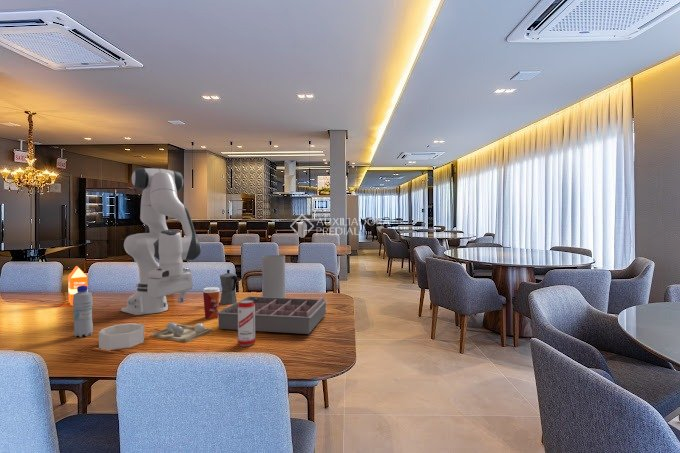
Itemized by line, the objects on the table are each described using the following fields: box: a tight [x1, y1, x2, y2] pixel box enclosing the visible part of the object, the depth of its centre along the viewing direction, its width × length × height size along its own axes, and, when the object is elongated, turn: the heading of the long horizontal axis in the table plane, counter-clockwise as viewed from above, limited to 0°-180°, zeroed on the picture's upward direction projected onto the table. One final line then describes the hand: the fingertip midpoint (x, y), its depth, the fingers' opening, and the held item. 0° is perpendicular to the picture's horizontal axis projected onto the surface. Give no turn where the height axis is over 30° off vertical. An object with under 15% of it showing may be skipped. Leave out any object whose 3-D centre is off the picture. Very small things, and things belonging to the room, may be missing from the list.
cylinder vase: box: [261, 254, 286, 298], centre depth 209 cm, size 12×12×25 cm
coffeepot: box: [219, 269, 238, 305], centre depth 204 cm, size 15×9×18 cm, turn 43°
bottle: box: [72, 285, 94, 338], centre depth 149 cm, size 7×7×20 cm
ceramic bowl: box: [98, 322, 145, 351], centre depth 140 cm, size 14×14×6 cm
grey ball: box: [173, 326, 184, 337], centre depth 146 cm, size 4×4×4 cm
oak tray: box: [150, 323, 213, 343], centre depth 150 cm, size 18×14×2 cm
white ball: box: [194, 322, 206, 334], centre depth 150 cm, size 4×4×4 cm
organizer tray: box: [216, 295, 328, 335], centre depth 166 cm, size 32×40×10 cm
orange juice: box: [67, 265, 89, 306], centre depth 204 cm, size 8×9×20 cm
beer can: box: [237, 299, 256, 347], centre depth 139 cm, size 6×6×16 cm
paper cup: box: [202, 286, 221, 320], centre depth 174 cm, size 8×8×14 cm
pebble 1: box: [165, 322, 178, 332], centre depth 152 cm, size 4×4×4 cm
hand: (172, 304), depth 151 cm, fingers open, 8 cm apart
